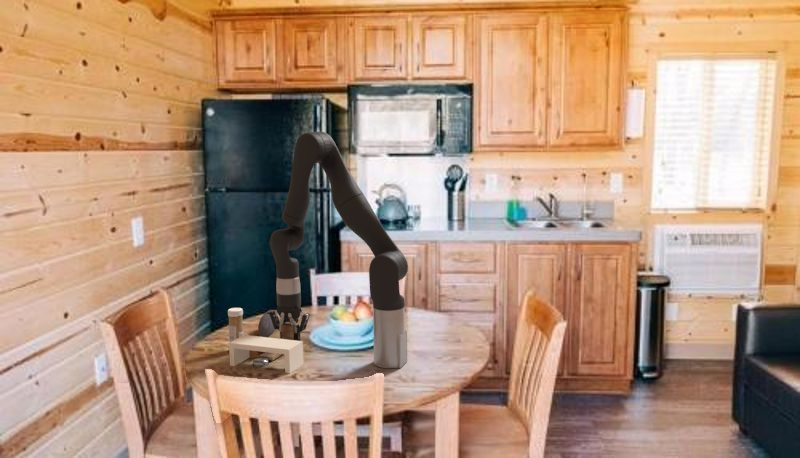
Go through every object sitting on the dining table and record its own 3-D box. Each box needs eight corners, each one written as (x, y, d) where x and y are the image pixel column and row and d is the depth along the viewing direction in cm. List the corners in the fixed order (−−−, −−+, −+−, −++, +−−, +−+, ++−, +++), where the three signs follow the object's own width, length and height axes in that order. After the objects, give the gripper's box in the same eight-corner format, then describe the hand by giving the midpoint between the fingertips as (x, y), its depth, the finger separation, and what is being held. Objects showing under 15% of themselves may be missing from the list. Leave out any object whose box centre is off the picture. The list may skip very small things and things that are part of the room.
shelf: (303, 364, 186) (302, 341, 185) (290, 373, 178) (289, 349, 178) (245, 356, 193) (244, 334, 192) (230, 365, 185) (228, 342, 184)
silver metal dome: (271, 363, 187) (271, 358, 187) (263, 368, 183) (263, 363, 183) (258, 361, 189) (258, 357, 189) (250, 366, 185) (250, 362, 185)
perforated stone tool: (268, 341, 208) (267, 321, 207) (252, 341, 208) (252, 320, 208) (281, 328, 223) (280, 308, 222) (266, 327, 223) (265, 308, 222)
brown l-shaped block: (299, 343, 203) (298, 322, 202) (272, 360, 188) (271, 337, 187) (287, 342, 205) (286, 321, 204) (259, 358, 190) (258, 336, 189)
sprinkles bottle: (246, 350, 198) (244, 309, 196) (232, 353, 196) (230, 311, 194) (241, 347, 202) (239, 306, 200) (227, 349, 199) (225, 308, 198)
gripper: (314, 289, 201) (315, 341, 203) (275, 286, 206) (277, 337, 208) (302, 295, 194) (304, 348, 196) (262, 291, 199) (264, 344, 201)
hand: (290, 342), depth 202 cm, fingers closed on brown l-shaped block, 4 cm apart
